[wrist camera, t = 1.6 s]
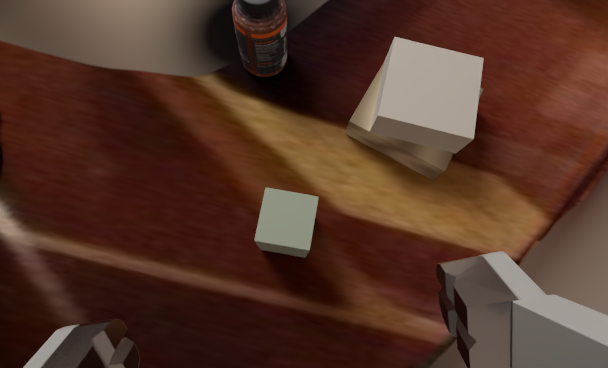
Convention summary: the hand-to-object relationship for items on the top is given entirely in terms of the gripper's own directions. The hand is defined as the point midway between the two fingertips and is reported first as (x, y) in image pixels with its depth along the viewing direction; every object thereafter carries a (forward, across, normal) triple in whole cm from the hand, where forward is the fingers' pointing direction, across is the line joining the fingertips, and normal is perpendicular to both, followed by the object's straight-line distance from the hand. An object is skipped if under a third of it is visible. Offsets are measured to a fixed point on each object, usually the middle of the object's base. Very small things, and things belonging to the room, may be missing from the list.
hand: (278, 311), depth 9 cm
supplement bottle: (+41, +4, -5) cm, 42 cm away
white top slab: (+34, -14, +3) cm, 37 cm away
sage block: (+27, +4, +13) cm, 30 cm away
